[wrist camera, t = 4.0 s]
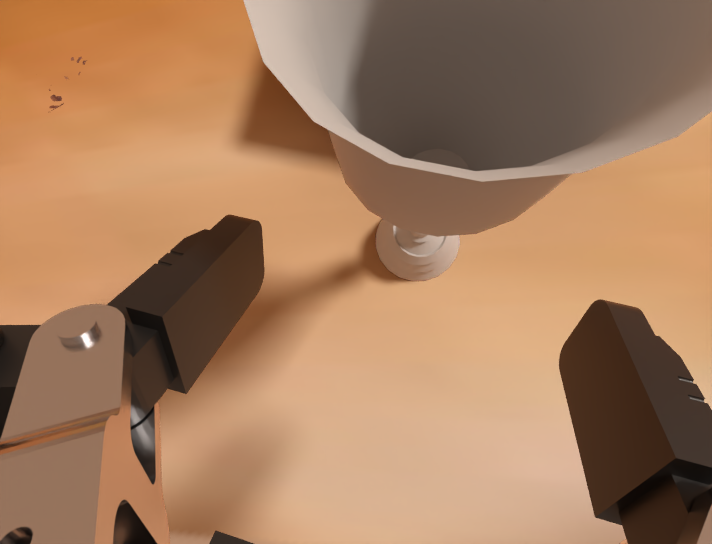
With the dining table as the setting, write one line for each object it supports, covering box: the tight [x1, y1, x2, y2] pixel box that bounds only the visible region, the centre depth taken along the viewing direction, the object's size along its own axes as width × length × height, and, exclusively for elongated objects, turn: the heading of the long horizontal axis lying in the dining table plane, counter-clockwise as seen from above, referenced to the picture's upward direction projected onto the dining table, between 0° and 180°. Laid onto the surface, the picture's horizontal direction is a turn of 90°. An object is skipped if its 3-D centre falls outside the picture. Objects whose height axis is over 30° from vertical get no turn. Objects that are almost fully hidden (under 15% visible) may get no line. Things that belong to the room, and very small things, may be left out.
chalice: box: [244, 0, 712, 281], centre depth 14 cm, size 7×7×18 cm
